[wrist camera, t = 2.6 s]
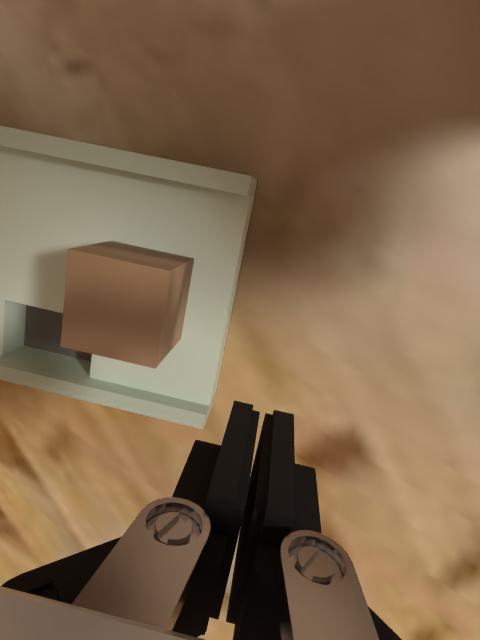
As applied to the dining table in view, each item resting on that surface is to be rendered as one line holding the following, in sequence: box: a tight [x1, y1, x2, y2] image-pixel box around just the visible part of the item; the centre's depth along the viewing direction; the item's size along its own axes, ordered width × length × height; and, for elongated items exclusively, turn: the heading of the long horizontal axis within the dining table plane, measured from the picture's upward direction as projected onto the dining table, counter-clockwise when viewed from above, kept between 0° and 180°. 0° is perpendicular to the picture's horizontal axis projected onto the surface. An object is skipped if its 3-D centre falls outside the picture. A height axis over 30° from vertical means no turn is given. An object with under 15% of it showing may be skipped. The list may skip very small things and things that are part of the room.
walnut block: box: [60, 241, 194, 369], centre depth 23 cm, size 5×5×5 cm
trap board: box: [0, 126, 257, 429], centre depth 26 cm, size 26×15×4 cm, turn 79°
